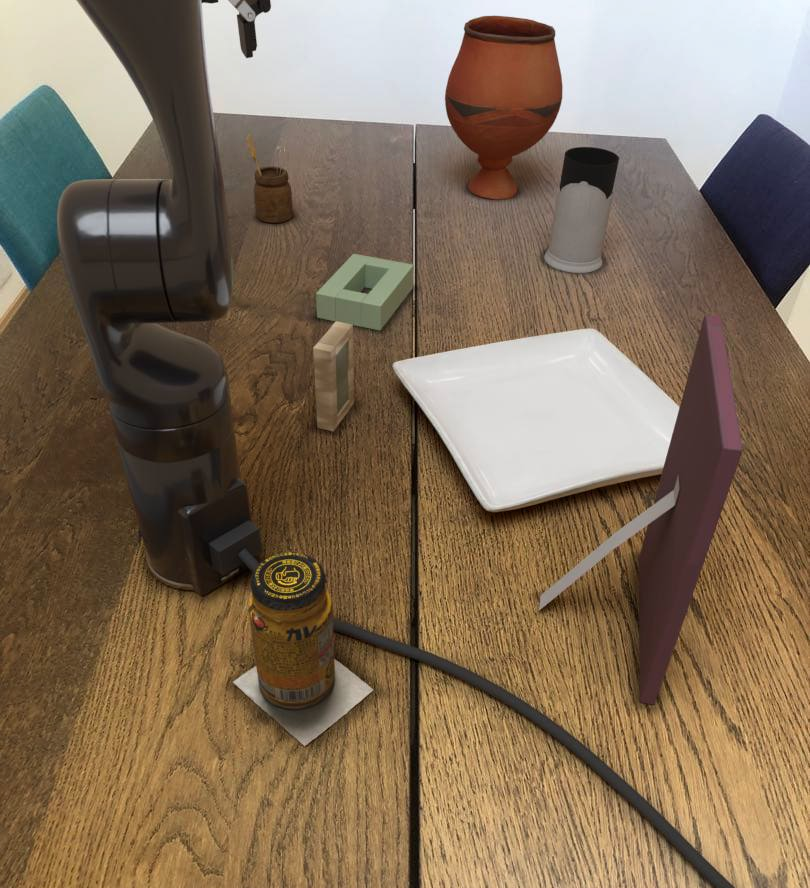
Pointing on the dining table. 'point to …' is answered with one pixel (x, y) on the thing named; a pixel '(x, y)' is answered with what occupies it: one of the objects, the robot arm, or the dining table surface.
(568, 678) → the dining table surface
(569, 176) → the glass holder
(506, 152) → the goblet
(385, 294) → the holder
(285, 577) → the condiment
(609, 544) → the picture frame
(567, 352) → the square plate
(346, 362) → the frame
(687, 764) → the dining table surface
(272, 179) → the utensil holder
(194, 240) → the robot arm
